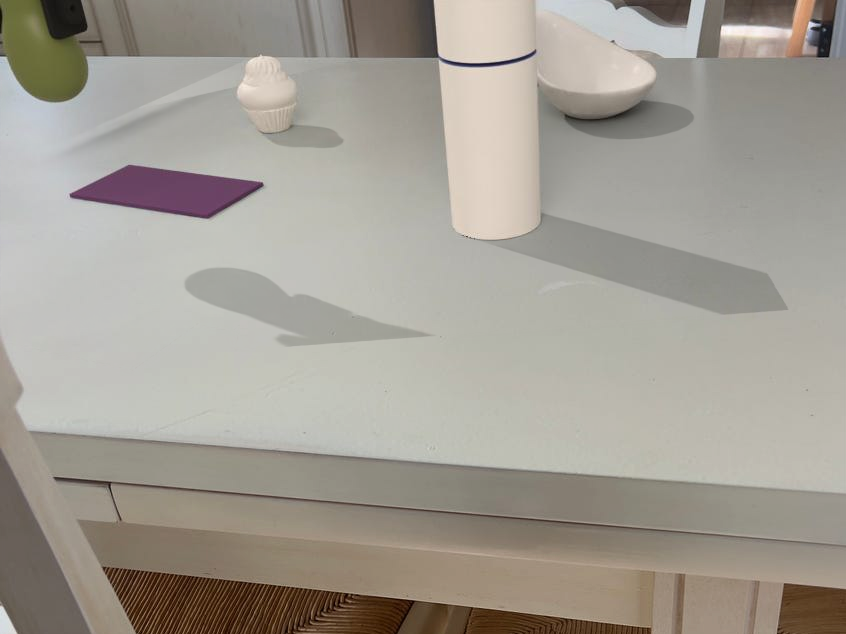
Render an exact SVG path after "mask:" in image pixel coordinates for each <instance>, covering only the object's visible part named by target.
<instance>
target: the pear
mask: <svg viewBox="0 0 846 634" xmlns="http://www.w3.org/2000/svg"><path fill="white" fill-rule="evenodd" d="M0 7H1V10H2V34H1V41H2V45H3V51H4V54H5V57H6V60H7V63H8V65H9V67H10V70H11V72H12V74H13V76H14V77H15V79H16V81H17V82H18V84H19V85H20V87H21V88H22V89H23V90H24V91H25V92H26V93H27V94H29V95H30V96H32V97H33V98H35V99H36V100H39V101H43V102H45V103H53V104H56V103H57V104H59V103H64V102H67V101H71V100H72V99H74V98H76V97H77V96H79V95H80V94H81V92H83V90H84V89H85V88H86V85H87V83H88V80H89V63H88V59H87V55H86V52H85V50H84V49H83V46H82V44H81V42H80V41H79V39H78V38H77V36H76V35H73V36H70V37H67V38H64V39H61V40H58V39H53V38H52V37H51V35H50V33H49V30H48V26H47V23H46V20H45V16H44V13H43V9H42V6H41V2H40V0H0Z"/></svg>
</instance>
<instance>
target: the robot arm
mask: <svg viewBox="0 0 846 634" xmlns="http://www.w3.org/2000/svg"><path fill="white" fill-rule="evenodd" d="M40 2H41V6H42V9H43V13H44V16H45V20H46V23H47V26H48V30H49V33H50V35H51V37H52V38H53V39H58V40H61V39H64V38H67V37H70V36H73V35H75V36H76V35H79V34H83V33H85V32H87V30H88V28H89V27H88V25H89V24H88V21H87V17H86V14H85V11H84V6H83V2H82V0H40ZM0 35H2V10H1V7H0Z"/></svg>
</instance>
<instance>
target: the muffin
mask: <svg viewBox="0 0 846 634" xmlns="http://www.w3.org/2000/svg"><path fill="white" fill-rule="evenodd" d="M282 68H283V67H282V63H281V62H280V60H278V59H277V58H276V57H274V56H271V55H262V54H260V55H259V56H256V57H254V58H253V57H252V58H251V59H250V60H249V61H247V62H246V64H245V68H244V71H245V75H244V77H243V79H242V82H241V83H240V84H239V86H238V88H237V90H236V97H237V101H238V102H239V103H240V105H241V106H242V110H243V111H244V113H245V114H246V116H247V117H248V118H249V119H250V120H251V122H252V124H253V125H254V126H255V127H256V129H257V130H258V131H259V132H260V133H263V134H275V133H281V132H284V131H287V130H288V129H290V127H291V124H292V121H293V118H294V115H295V112H296V108H297V104H298V99H297V98H298V95H299V94H298V93H299V87H298V85H297V83H296V81H295V80H294V79H293V78H292V77H290V76H289V75H287V72H285V71H284V70H283V69H282Z"/></svg>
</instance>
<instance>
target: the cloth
mask: <svg viewBox="0 0 846 634" xmlns="http://www.w3.org/2000/svg"><path fill="white" fill-rule="evenodd" d="M263 186H264V182H263V181H256V180H249V179H248V180H247V179H241V178H234V177H227V176H217V175H211V174H202V173H195V172H187V171H182V170H181V171H180V170H173V169H164V168H158V167H151V166H143V165H142V166H141V165H135V164H128V165H125V166H123V167H121V168H119V169H117V170H115V171H113V172H111V173H109V174H107V175H105V176H103V177H101V178H99V179H97V180H95V181H93V182H91V183H89V184H86V185H84V186H83V187H81V188H78V189H77V190H75V191H72V192H71V193H69V197H70V198H71V199H72V198H73V199H80V200H87V201H93V202H99V203H106V204H112V205H117V206H126V207H131V208H132V207H133V208H137V209H138V208H139V209H145V210H152V211H158V212H164V213H165V212H166V213H171V214H177V215H182V216H183V215H184V216H191V217H198V218H203V219H209V218H211V217H212V216H214V215H216V214H217V213H219V212H221V211H223V210H225V209H226V208H228V207H230V206H231V205H233V204H235V203H237V202H238V201H239V200H241V199H243V198H246V197H247V196H248V195H250V194H251V193H253V192H255V191H256V190H258V189H260V188H262V187H263Z"/></svg>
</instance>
